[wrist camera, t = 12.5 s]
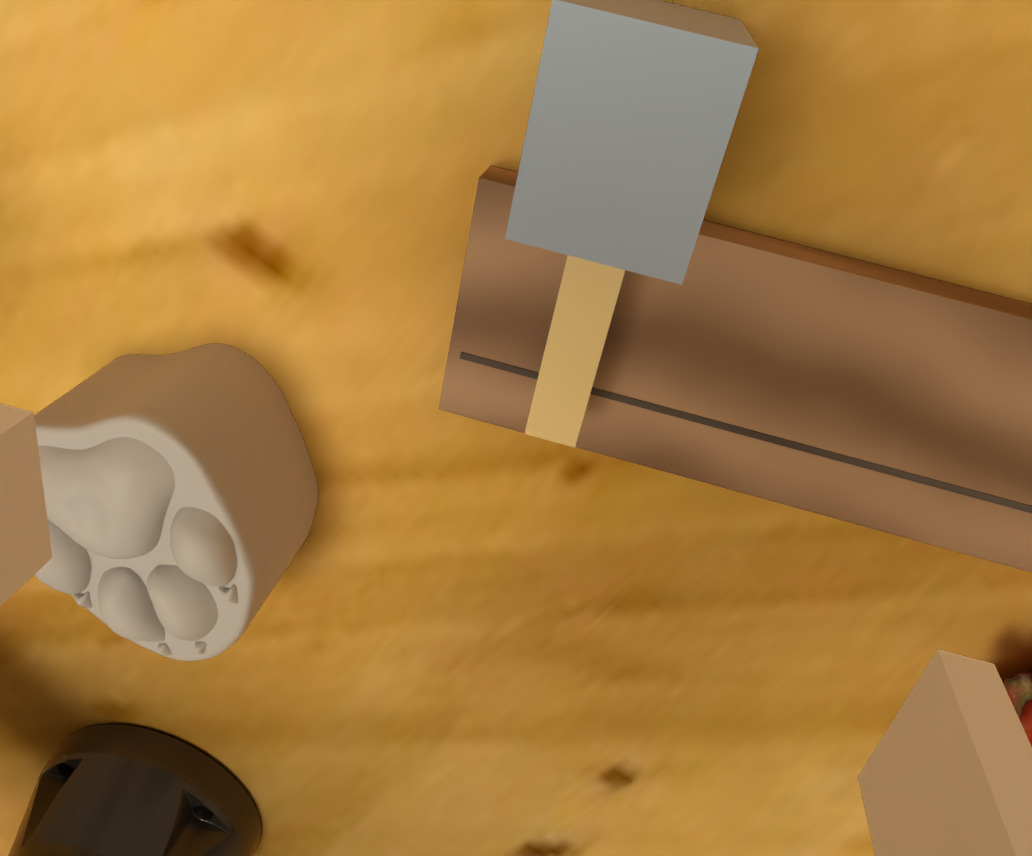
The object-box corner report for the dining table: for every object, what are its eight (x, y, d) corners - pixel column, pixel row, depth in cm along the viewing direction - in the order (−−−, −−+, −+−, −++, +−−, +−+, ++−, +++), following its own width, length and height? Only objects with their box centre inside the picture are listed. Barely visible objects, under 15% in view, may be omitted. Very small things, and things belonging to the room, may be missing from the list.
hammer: (623, 397, 36) (599, 537, 27) (511, 367, 36) (453, 496, 27) (740, 19, 28) (758, 48, 19) (596, -15, 28) (552, -2, 20)
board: (1031, 546, 35) (1048, 577, 34) (450, 388, 37) (438, 409, 35) (1173, 340, 30) (1203, 363, 28) (490, 165, 32) (478, 178, 30)
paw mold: (265, 335, 38) (160, 429, 30) (349, 562, 43) (278, 687, 36) (77, 360, 40) (-62, 452, 33) (180, 571, 46) (82, 688, 39)
